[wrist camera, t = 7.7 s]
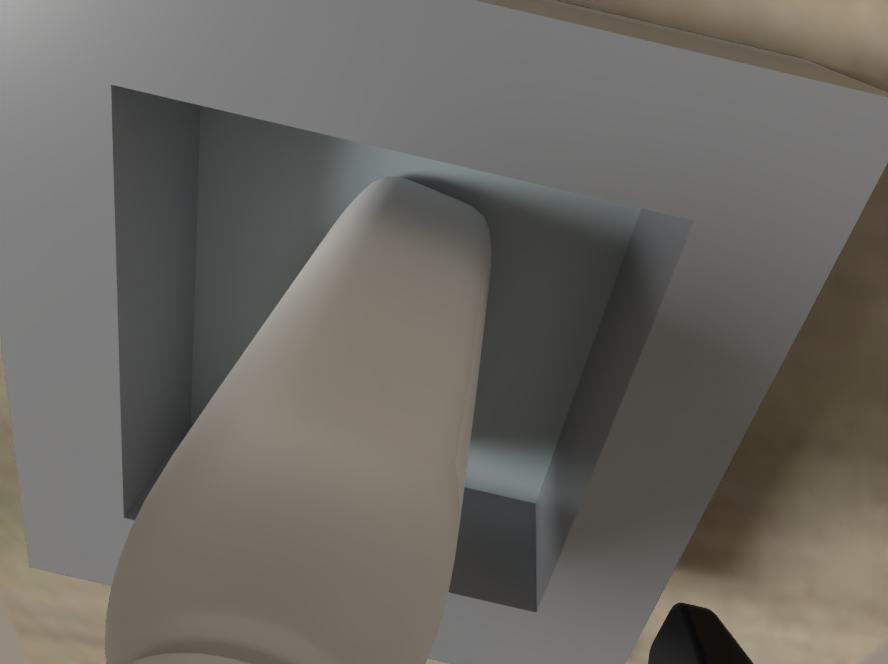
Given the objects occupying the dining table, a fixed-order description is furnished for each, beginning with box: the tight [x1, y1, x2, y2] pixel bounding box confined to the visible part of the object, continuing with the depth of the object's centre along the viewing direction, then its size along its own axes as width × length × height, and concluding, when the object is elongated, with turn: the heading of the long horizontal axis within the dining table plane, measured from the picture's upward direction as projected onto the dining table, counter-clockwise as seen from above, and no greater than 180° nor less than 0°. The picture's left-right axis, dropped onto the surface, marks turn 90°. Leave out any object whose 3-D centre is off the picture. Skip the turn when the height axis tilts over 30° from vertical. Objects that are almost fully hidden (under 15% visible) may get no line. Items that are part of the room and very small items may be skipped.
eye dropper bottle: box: [105, 176, 491, 664], centre depth 9 cm, size 4×6×12 cm
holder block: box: [0, 0, 888, 664], centre depth 13 cm, size 12×12×4 cm
